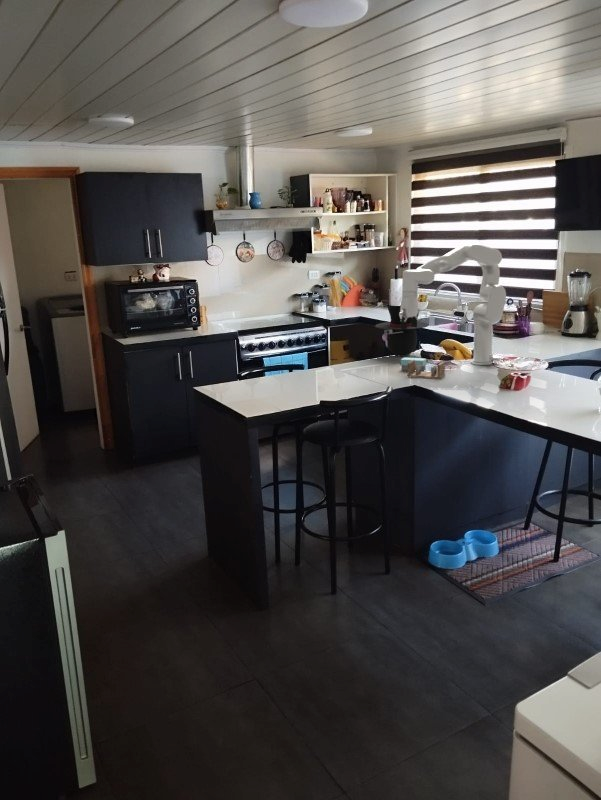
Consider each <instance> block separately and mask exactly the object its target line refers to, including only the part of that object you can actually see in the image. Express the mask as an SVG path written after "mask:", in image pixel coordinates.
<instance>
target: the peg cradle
mask: <svg viewBox="0 0 601 800" xmlns="http://www.w3.org/2000/svg"><path fill="white" fill-rule="evenodd" d="M445 363H446V361H441V362H440V363H438V364H437V365H433V366H431V367H430V371H429V372H428V371H424V372H422V371H421V365H418V366H416V371H415V360H412V361H410V362H409V363H408V371H407V375H406V377H407V376H411V377H410V378H415V377H422V378H421V379H430V378H434V379H433V380H441V379H443V377H444V378H445V376H446V373H445V371H446V370H445V367H446V366H445Z"/></svg>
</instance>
